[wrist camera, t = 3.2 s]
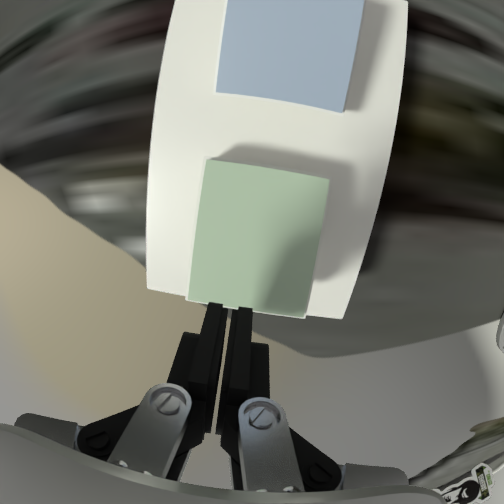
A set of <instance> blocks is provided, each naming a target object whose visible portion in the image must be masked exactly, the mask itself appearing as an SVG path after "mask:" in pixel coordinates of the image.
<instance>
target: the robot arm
mask: <svg viewBox="0 0 504 504" xmlns="http://www.w3.org/2000/svg"><path fill="white" fill-rule="evenodd" d="M227 314H228V308H223V304H220V303H214V302H209V303H208V307H207V311H206V314H205V318H204V322H203V325H202V329H201V333H200V334H195V333H189V332H184V333H183V335H182V338H181V341H180V344H179V347H178V350H177V353H176V356H175V359H174V362H173V365H172V368H171V371H170V374H169V377H168V380H167V383H163V384H158V385H155V386H154V387H152V388H150V389H149V391H148V392H147V393H146V394H145V396H144V398H143V400H142V401H141V403H140V405H138V406H135V407H133V408H130V409H128V410H125V411H123V412H120V413H117V414H115V415H112V416H110V417H107V418H104V419H101V420H99V421H96V422H93V423H90V424H88V425H86V426H79V425H78V424H77V423H75V422H70V421H64V420H59V419H54V418H50V417H45V416H41V415H36V414H31V413H26V414H23V415H21V416H20V417H19V418H17V420H16V422H15V425H14V426H13V425H8V424H3V423H0V504H447V502H446V501H445V499H444V498H443V497H442V496H441V495H440V494H439V493H437V492H436V491H433V490H431V489H427V488H424V487H419V486H410V485H408V478H407V476H406V474H405V473H404V472H403V471H402V470H400V469H398V468H394V467H379V466H367V465H357V464H349V463H346V464H345V465H339V464H337V463H336V462H334V461H333V460H332V459H330V458H329V457H328V456H327V455H325V454H324V453H322V452H321V451H320V450H318V449H317V448H316V447H314V446H313V445H312V444H310V443H309V442H308V441H307V440H305V439H304V438H303V437H301V436H300V435H299V434H297V433H296V432H295V431H293V430H292V429H291V428H290V427H289V426H288V422H287V418H286V414H285V411H284V409H283V408H282V407H281V406H280V405H279V404H278V403H277V402H275V401H273V400H271V399H270V390H269V389H270V387H269V386H270V383H269V345H268V344H263V343H255V342H251V336H252V316H253V308H247V307H240V306H239V307H238V310H235V309H233V310H232V317H231V323H230V330H229V337H228V344H227V351H226V357H225V365H224V371H223V378H222V385H221V393H220V402H219V409H218V417H217V425H216V433H215V434H218V435H221V447H222V448H223V449H224V450H225V451H226V452H227V453H228V454H229V467H230V477H231V486H232V490H229V489H219V488H213V487H206V486H199V485H193V484H188V483H182V482H180V480H181V477H182V475H183V472H184V469H185V467H186V464H187V462H188V459H189V456H190V454H191V450H192V448H194V447H195V446H197V445H199V444H201V443H202V440H204V434H205V433H211V427H212V419H213V413H214V406H215V400H216V394H217V387H218V381H219V374H220V367H221V361H222V353H223V345H224V337H225V328H226V321H227ZM496 342H497V345H498V347H499V349H500V350H501V351H502V352H503V353H504V313H503V315H502V318H501V320H500V323H499V326H498V330H497V335H496Z"/></svg>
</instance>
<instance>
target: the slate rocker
mask: <svg viewBox="0 0 504 504" xmlns="http://www.w3.org/2000/svg"><path fill="white" fill-rule="evenodd" d="M366 1H367V0H225V3H224V10H223V16H222V23H221V30H220V38H219V45H218V53H217V61H216V70H215V78H214V88H213V95H218V96H229V97H238V98H246V99H254V100H261V101H268V102H274V103H280V104H286V105H292V106H297V107H302V108H307V109H312V110H317V111H321V112H325V113H330V114H334V115H338V116H342V117H344V113H345V109H346V105H347V100H348V96H349V91H350V87H351V82H352V77H353V72H354V68H355V63H356V58H357V53H358V47H359V42H360V37H361V31H362V26H363V20H364V14H365V8H366Z"/></svg>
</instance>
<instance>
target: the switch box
mask: <svg viewBox="0 0 504 504" xmlns="http://www.w3.org/2000/svg"><path fill="white" fill-rule="evenodd" d="M224 3H225V0H175V2H174V6H173V10H172V14H171V19H170V23H169V27H168V32H167V37H166V41H165V46H164V51H163V57H162V62H161V68H160V74H159V80H158V86H157V93H156V100H155V107H154V115H153V124H152V133H151V143H150V155H149V168H148V184H147V205H146V272H147V289H152V290H157V291H162V292H167V293H172V294H177V295H182V296H186V288H187V278H188V269H189V260H190V251H191V243H192V235H193V228H194V220H195V213H196V206H197V199H198V192H199V186H200V179H201V173H202V167H203V161H204V156H210V157H218V158H226V159H234V160H241V161H248V162H255V163H261V164H267V165H273V166H279V167H285V168H291V169H296V170H301V171H307V172H312V173H317V174H322V175H327V176H331V177H332V182H331V189H330V195H329V201H328V207H327V213H326V219H325V225H324V230H323V236H322V241H321V246H320V252H319V257H318V262H317V267H316V272H315V277H314V281H313V286H312V291H311V295H310V300H309V304H308V309H307V313H306V315H312V316H320V317H328V318H337V319H342V318H343V316H344V313H345V310H346V308H347V305H348V302H349V299H350V296H351V294H352V291H353V288H354V285H355V282H356V279H357V276H358V273H359V270H360V267H361V264H362V261H363V258H364V254H365V251H366V248H367V244H368V241H369V238H370V234H371V231H372V227H373V224H374V220H375V216H376V213H377V209H378V205H379V201H380V197H381V193H382V189H383V185H384V181H385V176H386V172H387V168H388V163H389V158H390V153H391V148H392V143H393V138H394V133H395V127H396V121H397V115H398V109H399V102H400V95H401V88H402V80H403V71H404V61H405V50H406V36H407V16H408V2H407V1H404V0H367V1H366V8H365V14H364V20H363V26H362V31H361V37H360V42H359V47H358V53H357V58H356V63H355V68H354V72H353V77H352V82H351V87H350V91H349V96H348V100H347V105H346V109H345V113H344V117H342V116H338V115H334V114H330V113H325V112H321V111H317V110H312V109H307V108H302V107H297V106H292V105H286V104H280V103H274V102H268V101H261V100H254V99H246V98H238V97H229V96H218V95H213V88H214V78H215V70H216V61H217V53H218V45H219V38H220V30H221V23H222V16H223V10H224Z"/></svg>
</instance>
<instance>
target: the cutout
mask: <svg viewBox="0 0 504 504" xmlns="http://www.w3.org/2000/svg"><path fill="white" fill-rule="evenodd" d="M471 474H472V477H468V478H465V479H463V480H462V481H461V482H459V483H458V484H453V485H451V486H449V487H447V488H446V489H444V490H443V491H440V490H439V489H433V491H436V492H437V493H439V494H440V495H441V496H442V497H443V498H444V499H445V501H446V502H447V504H474V503H475V502H476V503H479V504H482V503H483V502H485V501H487V500H488V499H490V498H491V496H492V492H491V488H492V487H493V486H494V484H495V481H494V477H493V474H492V469H491V468H489V466H488V465H487V464H484V463H480V464H479V465H477V466H476V467H474V468H473V469H472V470H471Z"/></svg>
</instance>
